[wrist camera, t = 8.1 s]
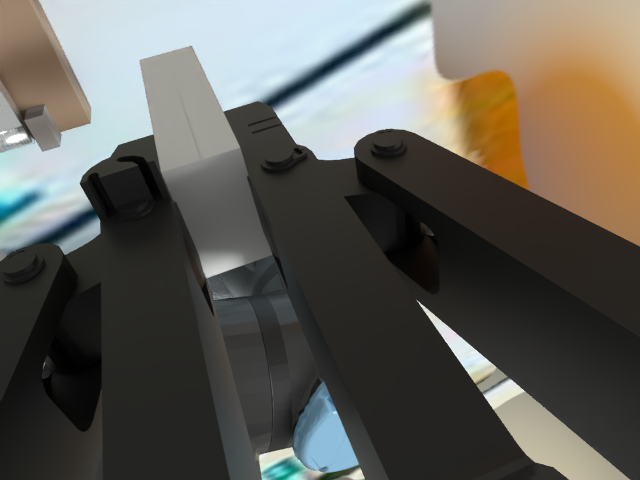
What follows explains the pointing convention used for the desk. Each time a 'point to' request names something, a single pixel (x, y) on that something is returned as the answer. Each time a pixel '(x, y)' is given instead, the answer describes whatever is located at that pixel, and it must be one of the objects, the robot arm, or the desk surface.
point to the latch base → (39, 73)
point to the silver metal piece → (12, 124)
